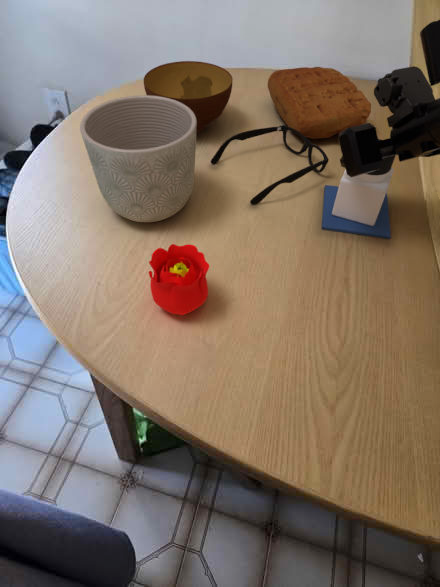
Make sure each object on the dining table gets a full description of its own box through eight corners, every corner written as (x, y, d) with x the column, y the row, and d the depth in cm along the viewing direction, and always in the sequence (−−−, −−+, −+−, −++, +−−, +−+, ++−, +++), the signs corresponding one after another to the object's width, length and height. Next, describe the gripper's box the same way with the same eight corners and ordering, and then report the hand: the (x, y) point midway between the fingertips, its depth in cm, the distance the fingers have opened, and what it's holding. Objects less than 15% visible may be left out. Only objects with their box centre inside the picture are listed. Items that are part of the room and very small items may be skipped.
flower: (143, 314, 58) (135, 273, 52) (167, 275, 63) (162, 234, 57) (196, 330, 56) (195, 290, 50) (217, 289, 61) (217, 249, 55)
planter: (158, 251, 66) (147, 165, 55) (79, 213, 72) (54, 128, 61) (217, 196, 76) (218, 113, 64) (143, 166, 82) (132, 85, 70)
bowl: (180, 157, 84) (177, 107, 76) (133, 122, 93) (126, 74, 85) (247, 130, 91) (250, 82, 84) (198, 100, 100) (197, 54, 92)
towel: (386, 195, 77) (387, 192, 76) (389, 239, 69) (390, 236, 69) (324, 187, 78) (325, 184, 78) (321, 229, 70) (322, 226, 70)
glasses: (332, 184, 80) (339, 160, 76) (253, 208, 74) (256, 183, 70) (282, 143, 89) (286, 120, 86) (207, 161, 83) (208, 137, 79)
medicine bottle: (381, 203, 74) (405, 139, 65) (373, 227, 70) (397, 162, 61) (341, 192, 76) (358, 129, 67) (330, 215, 72) (348, 151, 63)
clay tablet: (261, 101, 100) (265, 65, 94) (329, 95, 103) (336, 59, 97) (295, 150, 86) (301, 112, 80) (371, 141, 89) (383, 103, 83)
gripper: (488, 44, 54) (402, 95, 69) (366, 65, 49) (301, 115, 63) (506, 132, 55) (417, 163, 70) (388, 162, 50) (319, 189, 65)
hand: (365, 156), depth 67 cm, fingers open, 9 cm apart
